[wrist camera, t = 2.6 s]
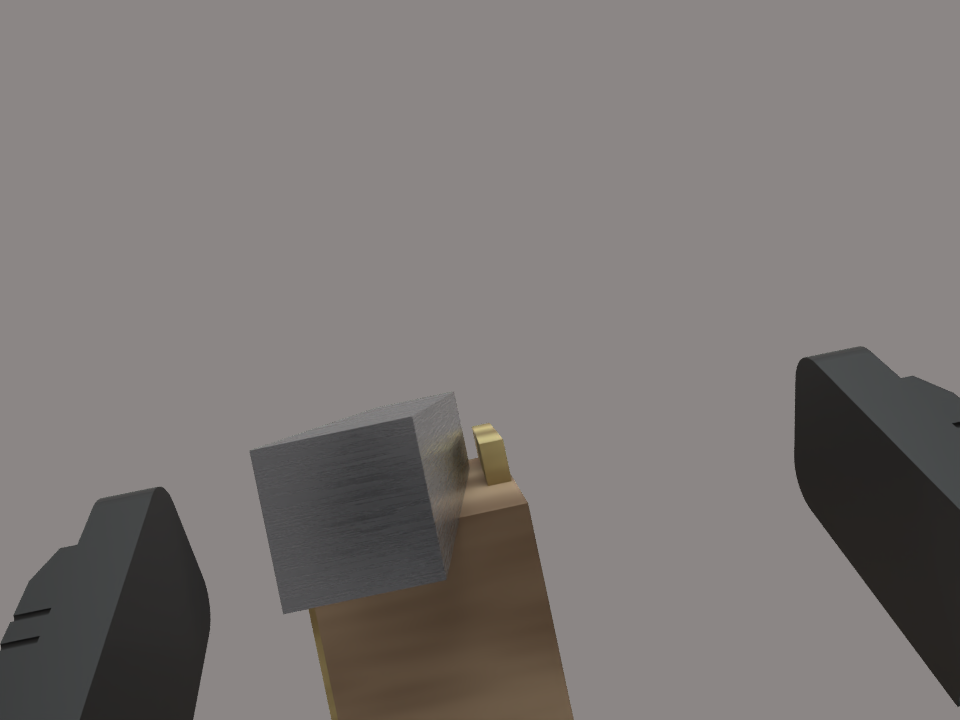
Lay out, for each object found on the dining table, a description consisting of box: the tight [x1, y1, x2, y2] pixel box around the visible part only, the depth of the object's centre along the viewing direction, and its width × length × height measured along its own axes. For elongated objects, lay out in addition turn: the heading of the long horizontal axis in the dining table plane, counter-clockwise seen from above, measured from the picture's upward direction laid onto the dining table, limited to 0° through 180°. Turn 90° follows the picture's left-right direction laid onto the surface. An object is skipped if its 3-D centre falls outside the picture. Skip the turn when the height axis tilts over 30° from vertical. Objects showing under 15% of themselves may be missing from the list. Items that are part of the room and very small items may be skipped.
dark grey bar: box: [250, 392, 470, 614], centre depth 30 cm, size 22×4×4 cm, turn 179°
